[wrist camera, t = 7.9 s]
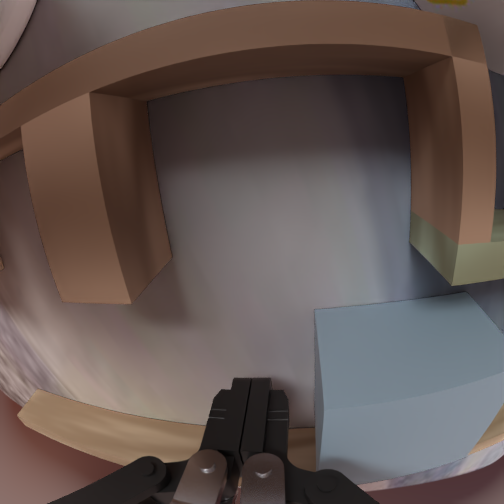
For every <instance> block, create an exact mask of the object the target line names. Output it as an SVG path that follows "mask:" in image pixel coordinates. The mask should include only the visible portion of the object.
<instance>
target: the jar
mask: <svg viewBox="0 0 504 504" xmlns="http://www.w3.org/2000/svg"><path fill="white" fill-rule="evenodd" d="M36 1H37V0H0V69H1V68H2V66H3V65H4V63H5V62H6V61H7V59H8V58H9V56H10V54H11V53H12V51H13V49H14V48H15V46H16V44H17V42H18V41H19V39H20V37H21V35H22V33H23V31H24V29H25V27H26V25H27V23H28V21H29V19H30V16H31V14H32V12H33V9H34V7H35V4H36Z"/></svg>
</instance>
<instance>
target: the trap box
mask: <svg viewBox="0 0 504 504" xmlns="http://www.w3.org/2000/svg"><path fill="white" fill-rule="evenodd" d="M308 75H375V76H392V77H403V79H404V86H405V93H406V101H407V111H408V121H409V134H410V151H411V222H410V240H409V242H410V243H411V244H412V245H413V246H414V247H415V248H416V249H417V250H418V251H419V252H420V253H421V254H422V255H423V256H424V257H425V258H426V259H427V260H428V261H429V262H430V263H431V264H432V265H433V266H434V268H435V269H436V270H437V271H438V272H439V273H440V274H441V275H442V276H443V277H444V278H445V279H446V280H447V281H448V283H449V284H450V285H451V286H456V285H464V284H471V283H478V282H484V281H491V280H497V279H503V278H504V209H494V205H495V189H496V135H495V120H494V109H493V100H492V92H491V85H490V79H489V73H488V68H487V63H486V58H485V53H484V49H483V45H482V40H481V37H480V33H479V29H478V26H477V25H475V24H472V23H469V22H466V21H462V20H459V19H456V18H452V17H448V16H444V15H440V14H436V13H432V12H427V11H423V10H418V9H412V8H407V7H401V6H394V5H387V4H378V3H368V2H356V1H335V0H306V1H285V2H272V3H262V4H254V5H246V6H239V7H233V8H227V9H222V10H216V11H211V12H207V13H202V14H198V15H194V16H189V17H185V18H182V19H178V20H174V21H171V22H167V23H164V24H161V25H157V26H154V27H151V28H148V29H145V30H142V31H139V32H137V33H134V34H131V35H128V36H126V37H123V38H121V39H118V40H116V41H113V42H111V43H108V44H106V45H104V46H101V47H99V48H97V49H95V50H93V51H90V52H88V53H86V54H84V55H82V56H80V57H78V58H76V59H74V60H72V61H70V62H68V63H66V64H64V65H63V66H61V67H59V68H57V69H55V70H54V71H52V72H50V73H48V74H47V75H45V76H43V77H42V78H40V79H38V80H37V81H35V82H33V83H32V84H30V85H29V86H27V87H26V88H24V89H23V90H21V91H20V92H18V93H17V94H15V95H14V96H12V97H11V98H10V99H8V100H7V101H5V102H4V103H3V104H1V105H0V161H1V160H3V159H5V158H6V157H8V156H10V155H12V154H14V153H16V152H18V151H20V150H22V149H23V152H24V159H25V166H26V173H27V179H28V184H29V189H30V195H31V199H32V204H33V209H34V213H35V217H36V221H37V225H38V229H39V233H40V237H41V240H42V244H43V247H44V250H45V254H46V257H47V260H48V263H49V266H50V269H51V272H52V275H53V278H54V281H55V284H56V287H57V289H58V292H59V295H60V297H61V300H62V302H72V303H99V304H132V303H133V302H134V301H135V300H136V299H137V297H138V296H139V295H140V294H141V293H142V292H143V290H144V289H145V288H146V287H147V286H148V285H149V283H150V282H151V281H152V280H153V279H154V278H155V277H156V275H157V274H158V273H159V272H160V271H161V270H162V269H163V267H164V266H165V265H166V264H167V263H168V262H169V261H170V260H171V258H172V253H171V249H170V244H169V239H168V234H167V229H166V224H165V219H164V214H163V209H162V203H161V198H160V192H159V186H158V180H157V174H156V168H155V162H154V155H153V148H152V141H151V134H150V126H149V118H148V109H147V101H150V100H153V99H157V98H161V97H165V96H169V95H173V94H178V93H182V92H186V91H191V90H196V89H201V88H206V87H212V86H217V85H223V84H229V83H236V82H243V81H251V80H259V79H268V78H278V77H291V76H308ZM2 269H4V266H3V263H2V260H1V257H0V271H1V270H2ZM17 416H18V417H19V419H20V420H21V421H22V422H23V423H24V425H26V426H27V427H29V428H31V429H33V430H35V431H37V432H39V433H41V434H43V435H45V436H47V437H50V438H52V439H54V440H56V441H58V442H61V443H63V444H65V445H68V446H70V447H73V448H75V449H78V450H80V451H83V452H85V453H88V454H91V455H94V456H97V457H99V458H102V459H105V460H108V461H111V462H114V463H118V464H121V465H124V466H126V465H128V464H130V463H131V462H133V461H135V460H137V459H138V458H141V457H143V456H154V457H157V458H159V459H161V460H162V461H163V462H164V463H168V462H178V461H184V460H187V459H189V458H190V457H191V456H192V455H193V454H195V453H196V452H198V450H199V448H200V445H201V442H202V438H203V435H204V431H205V428H206V426H202V425H192V424H184V423H176V422H169V421H162V420H156V419H150V418H145V417H139V416H134V415H129V414H124V413H120V412H115V411H111V410H107V409H103V408H99V407H95V406H91V405H88V404H84V403H80V402H77V401H74V400H70V399H67V398H64V397H61V396H58V395H55V394H52V393H49V392H46V391H43V390H40V389H37V390H36V392H35V393H34V394H33V395H32V397H31V398H30V399H29V400H28V402H27V403H26V404H25V406H24V407H23V408H22V410H21V411H20V412H19V414H18V415H17ZM503 440H504V403H503V405H502V407H501V408H500V410H499V412H498V413H497V415H496V416H495V418H494V419H493V421H492V422H491V424H490V425H489V427H488V428H487V430H486V431H485V433H484V434H483V435H482V437H481V438H480V439H479V441H478V442H477V444H476V445H475V446H474V448H473V449H472V450H471V451H470V453H469V454H468V455H470V454H472V453H475V452H477V451H480V450H482V449H485V448H487V447H489V446H492V445H494V444H496V443H498V442H500V441H503ZM287 458H288V460H289V461H290V462H291V463H292V464H293V465H294V466H296V467H298V468H300V469H304V470H308V471H312V472H316V438H315V428H297V429H289V431H288V454H287ZM241 483H242V477H239V483H238V486H241Z"/></svg>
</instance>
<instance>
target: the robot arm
mask: <svg viewBox="0 0 504 504" xmlns="http://www.w3.org/2000/svg"><path fill="white" fill-rule="evenodd" d="M288 431H289V406H288V398H287V396H286V394H285V392H284V390H272V382H271V378H253V379H252V378H234V379H233V382H232V387H231V390H225V389H221V390H220V392H219V393H218V394H217V395H216V396H215V397H214V400H213V403H212V407H211V410H210V414H209V418H208V421H207V424H206V428H205V431H204V435H203V438H202V442H201V445H200V448H199V450H198V452H196V453H195V454H193V455H192V456H191V457H190V458H189V459H187V460H184V461H178V462H168V463H164V462H163V461H162V460H161V459H159V458H157V457H154V456H143V457H141V458H138V459H137V460H135V461H133V462H131V463H130V464H128V465H126V466H124V467H123V468H121V469H119V470H117V471H115V472H113V473H111V474H110V475H108V476H106V477H104V478H102V479H100V480H98V481H96V482H94V483H92V484H90V485H88V486H86V487H84V488H82V489H80V490H77V491H75V492H73V493H71V494H69V495H67V496H64V497H62V498H60V499H57V500H55V501H52V502H50V503H48V504H235V502H236V498H237V494H238V483H239V477H242V483H241V498H240V504H379V503H378V502H377V501H375V500H374V499H373V498H372V497H370V496H369V495H368V494H367V493H365V492H364V491H363V490H362V489H360V488H359V487H358V486H357V485H355V484H354V483H353V482H352V481H351V480H349V479H348V478H347V477H346V476H345V475H344V474H342V473H341V472H339V471H337V470H334V469H322V470H319V471H316V472H312V471H308V470H304V469H300V468H298V467H296V466H294V465H293V464H292V463H291V462H290V461H289V460H288V458H287V454H288Z"/></svg>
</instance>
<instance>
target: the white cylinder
mask: <svg viewBox="0 0 504 504" xmlns="http://www.w3.org/2000/svg"><path fill="white" fill-rule="evenodd" d="M414 1H415V2H416V3H417V5H418V6H419V7H420V9H421V10H423V11H427V12H432V13H436V14H440V15H444V16H448V17H452V18H456V19H459V20H462V21H466V22H469V23H472V24H475V25H477V26H478V29H479V33H480V37H481V40H482V45H483V49H484V53H485V58H486V63H487V68H488V69H489V70H491V71H493V72H495V73H498V74H501V75H504V0H414Z"/></svg>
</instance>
